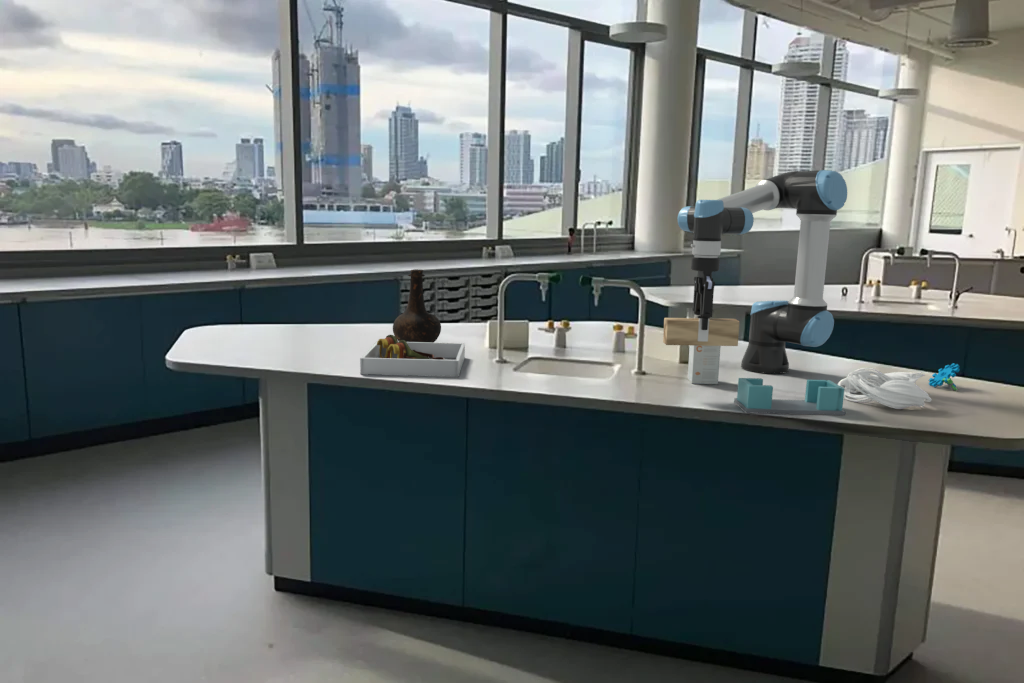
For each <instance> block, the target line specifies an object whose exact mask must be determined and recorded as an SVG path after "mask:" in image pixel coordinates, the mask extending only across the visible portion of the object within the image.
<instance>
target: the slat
mask: <svg viewBox="0 0 1024 683" xmlns="http://www.w3.org/2000/svg"><path fill="white" fill-rule="evenodd" d="M698 326H699V318H694V317H664V318H663V334H662V335H663V336H662V337H663V338H662V343H664V344H665V346H690V345H694V346H721V347H738V346H739V336H740V334H739V332H740V321H739V320H737V319H736V318H713V317H710V318H709V332H708V342H707V341H698Z"/></svg>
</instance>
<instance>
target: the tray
mask: <svg viewBox="0 0 1024 683" xmlns="http://www.w3.org/2000/svg"><path fill="white" fill-rule="evenodd" d="M377 342H378V340H377V341H376V342H375V343H374V344H373V345H372V346H371V347H370V348H369V349H368V350H367V351H366V352H364V354H363V355H361V357H360V358H359V362H360V363H359V367H360V368H359V369H360V372H359V373H360V375H368V374H382V375H383V374H384V375H383V376H408V375H418V377H454V378H458V377H460V374H461V371H462V370H461V369H462V368H463V367H462V366H463V364H464V361H465V357H466V353H465V352H466V351H465V350H466V345H465V344H466V343H465V342H464V343H463V342H434V343H432V342H407V344H408V345H409V347H410V349H411V350H415V351H418V352H422V353H428V354H432V355H434V358H436V357H443V358H444V359H446V360H435V359H432V358H430V359H396V358H380V355H379V348H380V345H377ZM448 358H449V359H448ZM385 374H386V375H385ZM382 375H381V376H382Z"/></svg>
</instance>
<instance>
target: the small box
mask: <svg viewBox="0 0 1024 683" xmlns="http://www.w3.org/2000/svg"><path fill="white" fill-rule="evenodd" d="M721 347H722V346H694V345H689V350H688V351H689V352H688V353H689V354H688V368H687V380H688V381H689V382H690V383H691V384H695V385H696V384H698V385H700V384H701V385H718V384H719V373H720V360H721V359H720V358H721Z"/></svg>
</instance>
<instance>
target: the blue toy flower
mask: <svg viewBox="0 0 1024 683" xmlns="http://www.w3.org/2000/svg"><path fill="white" fill-rule="evenodd" d="M960 367H961V366H960V365H959V364H958V363H953V362H952V363H951V364H947V365H944V368H942V367H941V368H939V369H938V371H937V372H938V373H936V372H934V373H933V374H932V377H930V378H929V380H928V385H929V387H933V388H936V387H937V386H939V387H940V386H943V385H944V383H945V384H946V385H947V386H948V387H951V388H952V390H954V391H955V390H957V391H958V388H957V385H956V384H955V383H954V381H953V379H952V378H955V377H956V376H957V374H956V373H959V372H960V370H961V368H960ZM951 377H952V378H951Z"/></svg>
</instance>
